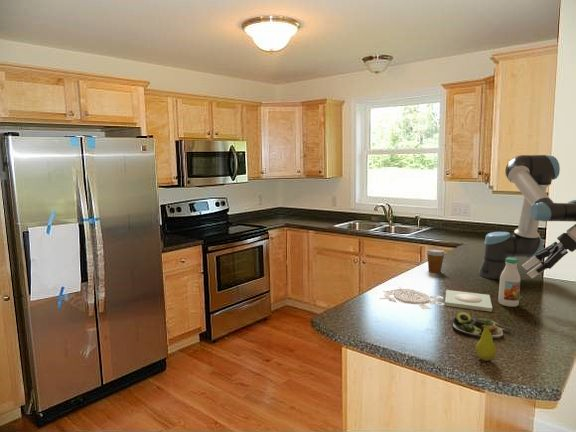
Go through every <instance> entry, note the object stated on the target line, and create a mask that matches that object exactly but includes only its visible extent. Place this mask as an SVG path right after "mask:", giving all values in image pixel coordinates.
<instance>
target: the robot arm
mask: <svg viewBox="0 0 576 432" xmlns="http://www.w3.org/2000/svg"><path fill="white" fill-rule="evenodd" d="M560 171H561V167H560V162H559V160H558V158H556V157H555V156H554V155H546V154H532V155H531V154H530V155H529V154H527V155H526V154H524V155H523V154H522V155H516V156H514V157H513V158H511V159H510V160H509V161H508V163H507V164H506V165H505V176H506V178H507V180H508V181H509V182H510V183H512V184H514V185H515V186H516V188H517V189H518V190H519V192H520V193H521V195H523V197H524V198H523V203H522V207H521V210H520V211H521V212H520V216H519V217H520V218H519V221H518V222H519V223H518V227H517V228H516V229H514V231H513V234H511V233H510V232H508V231H492V232H489V233H487V234H486V235H485V237H484V238H485V239H484V251H483V261H482V263H481V265H480V267H479V270H478V275H479V276H481V277H483V278H487V279H491V280H499V281H500V276H501V273H502V271H503V270H504V268H505V266H506V263H505V262H506V258H526V259H528V260H527V261H526V262H524V263H523V264H522V265H521V266H522V268H524V270H526V271H528V270H529V271H528V272H526V275H527V276H529V277H530V278H531V279H532V280H533V279H534V278H535V277H537V276H538V275H540V274H541V273H543V272H544V271H545V270H548V269H549V270H550V269H552V268H553V267H554V266H555V265H556V264H557V263H558V262H559V261H560V260H561V259H562V258H563V257H565V256H566V255H567V254H569V252H572V253H573V252H574V251H576V199H573V200H570V201H567V203H565V202H563V203H562V202H554V201H553V200H552V199H551V198H550V196H549V195H548V194H547V193H546V192H547V188H548V187H549V186H550V185H552V181H553V180H556V179H557V178H558V177H559V175H560ZM540 222H575V224H574V225H572V226H571V227H569V228H568V229H567V230H565V231H566V232H562V234H560V235H558V237H556V239H557V240H558V241H554V242H553V243H551V244H550V245H548V246H546V247H544V244H543V243H544V242H543V238H542V237H541V235H540V232H538V229H539V224H540ZM543 247H544V248H543ZM529 258H530V259H529ZM543 259H545V260H543ZM542 260H543V261H542ZM539 262H540V263H539ZM538 263H539V264H538ZM536 264H538V265H536ZM535 265H536V266H535ZM534 266H535V267H534ZM532 267H533V268H532ZM531 268H532V269H531ZM530 269H531V270H530Z"/></svg>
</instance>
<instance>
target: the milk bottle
mask: <svg viewBox="0 0 576 432" xmlns="http://www.w3.org/2000/svg"><path fill="white" fill-rule="evenodd" d="M505 263H506V266H505V268H504V270H503V271H502V273H501V276H500V280H499V285H498V286H499V287H498V304H500V305H502V306H506V307H510V308H511V307H515V308H516V307H518V306H519V303H520V293H521V292H520V290H521V275H520V271H519V269H518V264H519V259H518V258H517V257H508V258H506V262H505Z"/></svg>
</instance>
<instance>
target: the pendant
mask: <svg viewBox="0 0 576 432" xmlns="http://www.w3.org/2000/svg"><path fill="white" fill-rule="evenodd" d="M398 288H399V289H396V288H395V289H391V290H383V292H384V297H379V300H385V299H386V300H388V301H389V302H392V301H393V302H394V303H397V302H396V301H400V300H401V301H400V302H402V301H403V302H402V303H405V302H406V303H405V304H414V303H417V304H418V303H419V304H418V306H419V307H420V308H421V309H422V310H432V307H431V306H428V305H427V302H428V303H430V304H429V305H438V306H445V302H440V301H437V300H438V299H439V300H443V299H445V298H444V297H443V296H441V295H429V294H427V293H424V292H422V291H418V290H417V291H416V290H414V289H411V288H402V287H401V286H398ZM391 295H394V297H390V296H391ZM394 298H396V299H394ZM433 298H434V299H433ZM397 299H398V300H397ZM436 299H437V300H436ZM407 302H408V303H407ZM435 303H436V304H435Z"/></svg>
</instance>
